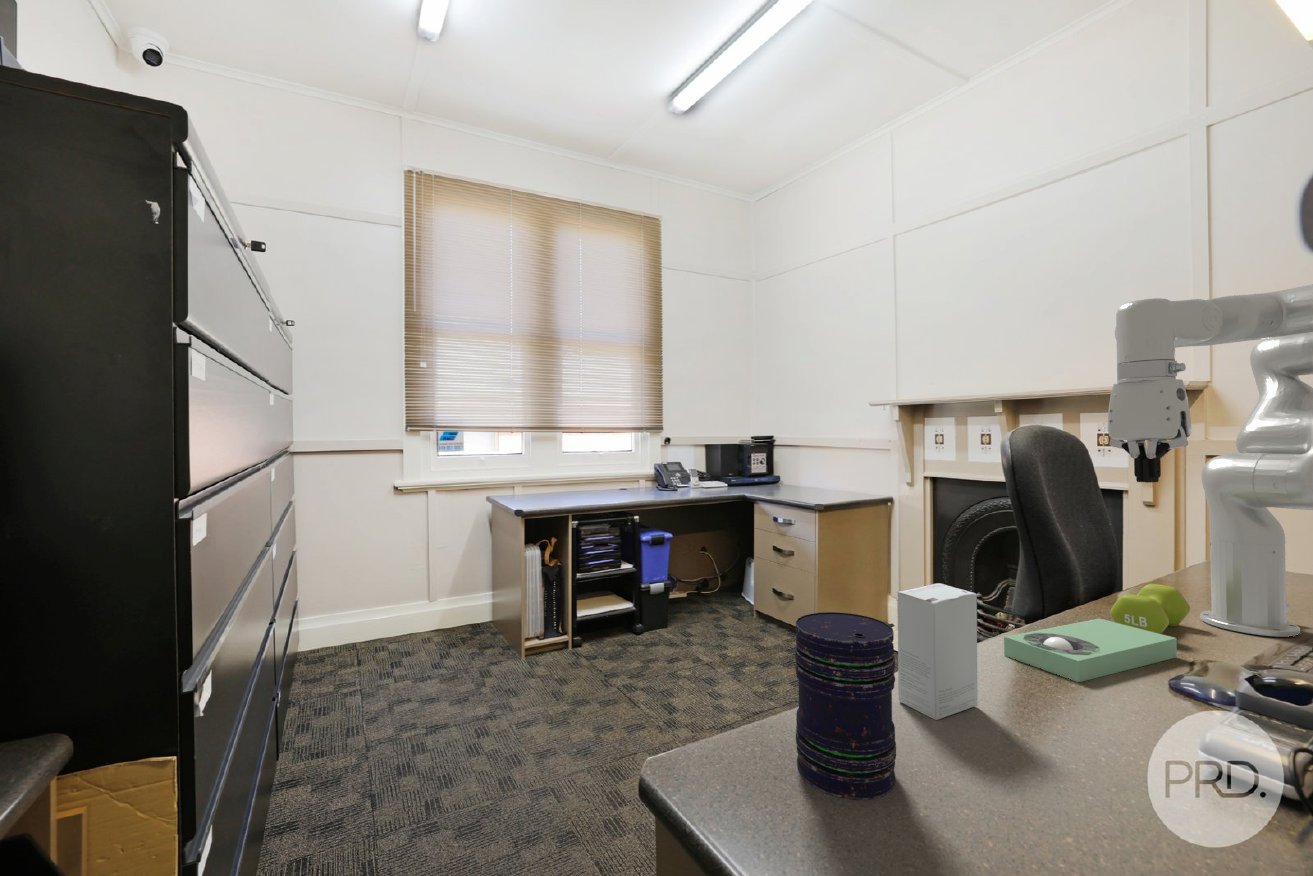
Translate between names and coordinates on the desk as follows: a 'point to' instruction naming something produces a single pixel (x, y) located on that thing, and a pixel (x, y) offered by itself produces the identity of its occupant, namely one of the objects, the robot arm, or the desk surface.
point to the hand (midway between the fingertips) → (1147, 481)
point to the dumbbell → (1151, 608)
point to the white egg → (1058, 643)
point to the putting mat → (1091, 649)
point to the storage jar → (845, 704)
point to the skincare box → (937, 649)
